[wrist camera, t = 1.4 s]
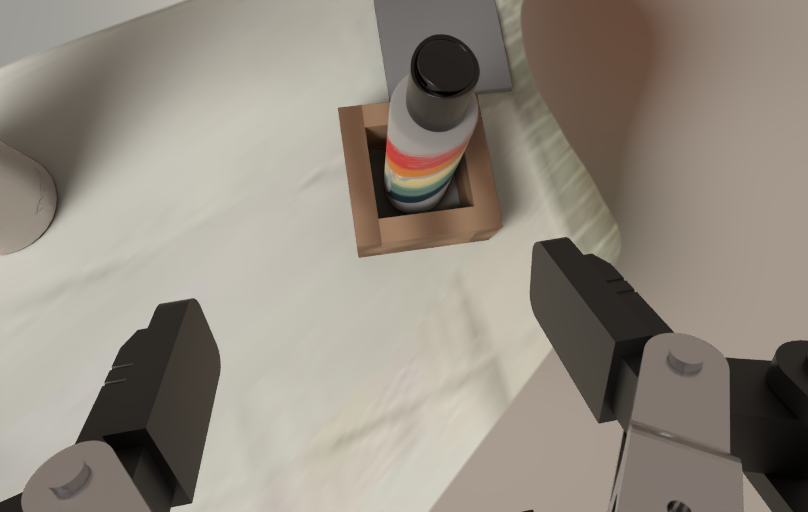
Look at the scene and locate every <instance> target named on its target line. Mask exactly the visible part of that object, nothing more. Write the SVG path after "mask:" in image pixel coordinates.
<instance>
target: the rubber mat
mask: <svg viewBox="0 0 808 512" xmlns="http://www.w3.org/2000/svg"><path fill="white" fill-rule="evenodd" d="M374 6H375V12H376V18H377V24H378V31H379V37H380V43H381V50H382V56H383V62H384V68H385V75H386V81H387V87H388V93H389V100H390V102H391V97H392V95H393V92H394V90H395V88H396V87H397V85H398V84H399V83H400V81H401V80H402V79H403V78H405V77H406V76H407V75H409V70H410V63H411V59H412V55H413V53H414V51H415V49H416V48H417V46H418V45H419V44H420V43H421V42H422V41H423V40H424V39H426V38H428V37H430V36H432V35H436V34H446V35H450V36H453V37H455V38H457V39H459V40H461V41H462V42H464V43H465V44H466V45H467V46H468V47H469V48H470V49H471V50H472V52H473V53H474V55H475V56H476V58H477V61H478V63H479V68H480V76H479V80H478V83H477V85H476V88H475V90H474V93H477V94H483V93H492V92H501V91H510V90H511V89H512V82H511V77H510V73H509V68H508V63H507V58H506V53H505V49H504V44H503V39H502V34H501V29H500V25H499V20H498V15H497V10H496V6H495V1H494V0H374Z"/></svg>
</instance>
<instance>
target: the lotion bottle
mask: <svg viewBox="0 0 808 512" xmlns="http://www.w3.org/2000/svg"><path fill="white" fill-rule="evenodd" d="M479 76H480V68H479V63H478V61H477V58H476V56H475V55H474V53H473V52H472V50H471V49H470V48H469V47H468V46H467V45H466V44H465V43H464V42H462V41H461V40H459V39H457V38H455V37H453V36H450V35H446V34H436V35H432V36H430V37H428V38H426V39H424V40H423V41H422V42H421V43H420V44H419V45H418V46H417V48H416V49H415V51H414V53H413V55H412V59H411V63H410V70H409V75H407V76H406V77H405V78H403V79H402V80H401V81H400V83H399V84H398V85H397V87H396V88H395V90H394V92H393V95H392V97H391V102H390V108H389V119H388V132H387V145H386V159H385V172H384V188H385V193H386V195H387V198H388V199H389V201H390V202H391V203H392V205H393V206H395V207H396V208H397V209H399V210H400V211H402V212H405V213H409V214H419V213H425V212H427V211H429V210H431V209H433V208H434V207H435V206H436V205H437V204H438V203H439V202H440V200H441V199H442V197H443V195H444V193H445V191H446V189H447V187H448V185H449V183H450V181H451V178H452V176H453V174H454V172H455V170H456V168H457V166H458V164H459V162H460V159H461V157H462V155H463V153H464V151H465V149H466V147H467V145H468V143H469V140H470V138H471V136H472V134H473V132H474V129H475V126H476V124H477V120H478V102H477V99H476V96H475V94H474V90H475V88H476V85H477V83H478V80H479Z"/></svg>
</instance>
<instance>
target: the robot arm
mask: <svg viewBox="0 0 808 512" xmlns="http://www.w3.org/2000/svg"><path fill="white" fill-rule="evenodd" d="M56 203H57V194H56V187H55V184H54V182H53V179H52V177H51V176H50V174H49V173H48V172H47V170H46V169H45V168H44V167H42V166H41V165H40V164H39V163H38V162H36V161H34V160H32V159H31V158H29V157H27V156H25V155H23V154H22V153H20V152H18V151H16V150H15V149H13V148H11V147H9V146H7V145H6V144H4V143H2V142H1V141H0V255H5V254H10V253H13V252H16V251H19V250H21V249H23V248H25V247H27V246H28V245H30V244H31V243H33V242H34V241H35V240H36V239H38V238H39V237H40V236H41V235H42V233H43V232H44V231H45V230H46V229H47V227H48V226H49V224H50V222H51V220H52V219H53V216H54V213H55V210H56ZM530 301H531V306H532V310H533V313H534V315H535V317H536V319H537V321H538V322H539V324H540V326H541V327H542V329H543V331H544V332H545V334H546V336H547V338H548V339H549V341H550V343H551V344H552V346H553V348H554V349H555V351H556V353H557V354H558V356H559V358H560V359H561V361H562V363H563V365H564V366H565V368H566V370H567V371H568V373H569V375H570V376H571V378H572V379H573V381H574V383H575V385H576V386H577V388H578V390H579V391H580V393H581V395H582V397H583V398H584V400H585V401H586V403H587V405H588V407H589V408H590V410H591V412H592V413H593V415H594V417H595V418H596V420H597V422H598V423H603V422H609V421H614V420H618V422H619V423H620V425H621V426H622V428H623V434H622V438H621V443H620V448H619V453H618V459H617V464H616V469H615V474H614V479H613V484H612V490H611V495H610V500H609V505H608V511H607V512H744V510H743V509H744V507H743V473H744V474H745V476H746V477H747V478H748V480H749V481H750V482H751V484H752V485H753V486H754V488H755V489H756V490H757V492H758V493H759V494H760V496H761V497H762V499H763V500H764V501H765V503H766V504H767V505H768V507H769V508H770V510H771V511H772V512H808V341H802V340H799V341H791V342H787V343H784V344H782V345H781V346H780V347H779V348H778V349H777V351H776V353H775V355H774V357H773V359H772V361H766V360H751V359H736V358H725V357H724V356H723V354H721V352H720V351H719V350H717V349H716V348H715V347H714V346H712V345H711V344H709V343H707V342H706V341H704V340H701V339H699V338H696V337H694V336H690V335H686V334H681V333H674V332H673V331H672V330H671V329H670V328H669V327H668V325H667V324H666V323H665V322H664V321H663V320H662V319H661V318H660V317H659V316H658V315H657V313H656V312H655V311H654V310H653V309H652V308H651V307H650V306H649V305H648V304H647V303H646V301H645V300H644V299H643V298H642V297H641V296H640V295H639V294H638V293H637V292H634V289H633V288H632V286H631V285H630V284H629V283H628V282H627V281H624V278H623V277H622V276H621V274H620V273H619V272H618V271H617V270H616V269H615V268H614V267H613V266H612V265H611V264H610V263H608V262H606V261H604V260H603V259H601V258H599V257H597V256H595V255H593V254H586V255H583V254H582V253H581V251H580V250H579V249H578V248H577V247H576V246H575V245H574V243H573V242H572V241H571V240H570V239H569V238H567V237H564V238H558V239H552V240H546V241H540V242H536V243H535V244H534V246H533V251H532V266H531V282H530ZM220 368H221V364H220V354H219V350H218V347H217V344H216V342H215V339H214V337H213V335H212V332H211V330H210V328H209V325H208V323H207V321H206V318H205V316H204V313H203V311H202V309H201V306H200V304H199V303H198V301H197V300H196V299H194V298H193V299H187V300H181V301H175V302H169V303H163V304H159V305H158V306H157V308H156V310H155V312H154V315H153V317H152V319H151V322H150V324H149V326H148V328H147V329H141V330H137V331H136V332H135V333H134V335H133V336H132V337H131V338H130V339H129V340H128V341H127V342H126V343H125V344H124V345H123V346H122V347H121V348H120V350H119V352H118V354H117V357H116V359H115V361H114V363H113V365H112V370H110V371H109V373H108V376H107V378H106V380H105V386H102V388H101V390H100V392H99V395H98V397H97V399H96V401H95V403H94V405H93V407H92V409H91V412H90V414H89V416H88V418H87V420H86V422H85V424H84V426H83V428H82V431H81V433H80V435H79V437H78V439H77V441H76V443H75V445H72V446H70V447H68V448H66V449H64V450H62V451H60V452H58V453H57V454H55V455H54V456H53V457H51V458H50V459H49V460H47V461H46V462H45V463H44V464H43V465H42V466H41V467H40V468H39V469H38V470H37V471H36V472H35V473H34V474H33V475H32V477H31V478H30V480H29V481H28V483H27V484H26V486H25V488H24V491H23V492H22V493H20V494H18V495H16V496H13V497H11V498H9V499H7V500H4V501H2V502H0V512H170V509H171V507H175V506H180V505H185V504H190V503H192V501H193V497H194V492H195V487H196V483H197V478H198V473H199V469H200V464H201V459H202V455H203V450H204V445H205V441H206V436H207V432H208V427H209V422H210V418H211V413H212V408H213V404H214V399H215V394H216V390H217V385H218V380H219V376H220ZM742 472H743V473H742ZM524 512H534V511H533V510H528V511H524Z"/></svg>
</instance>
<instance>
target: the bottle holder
mask: <svg viewBox="0 0 808 512" xmlns="http://www.w3.org/2000/svg"><path fill="white" fill-rule="evenodd" d="M474 94H475V96H476V99H477V102H478V97H477V93H474ZM389 108H390V102H387V103H377V104H368V105H359V106H350V107H341V108H338V112H339V120H340V127H341V134H342V141H343V148H344V156H345V163H346V170H347V177H348V184H349V192H350V199H351V206H352V213H353V221H354V228H355V235H356V242H357V249H358V257H359V258H360V257H367V256H375V255H382V254H389V253H396V252H404V251H411V250H418V249H425V248H433V247H440V246H447V245H454V244H462V243H469V242H476V241H483V240H489V239H490V238H491V237H492V236H493V235H494V234H495V233H496V232H497V231H498V230H499V229H501V228H502V227H503V225H502V220H501V215H500V210H499V205H498V200H497V195H496V189H495V184H494V179H493V174H492V169H491V164H490V159H489V153H488V148H487V143H486V138H485V133H484V128H483V122H482V117H481V112H480V107H479V102H478V120H477V124H476V126H475V129H474V132H473V134H472V136H471V138H470V140H469V143H468V145H467V147H466V149H465V151H464V153H463V155H462V157H461V159H460V162H459V164H458V166H457V168H456V170H455V172H454V173H455V178H456V184H457V189H458V195H459V200H460V206H461V208H458V209H450V210H442V211H435V212H427V213H419V214H412V215H404V216H397V217H389V218H381V219H378V213H377V206H376V200H375V193H374V186H373V179H372V173H371V166H370V159H369V152H368V151H370V150H378V149H386V145H387V132H388V119H389Z"/></svg>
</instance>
